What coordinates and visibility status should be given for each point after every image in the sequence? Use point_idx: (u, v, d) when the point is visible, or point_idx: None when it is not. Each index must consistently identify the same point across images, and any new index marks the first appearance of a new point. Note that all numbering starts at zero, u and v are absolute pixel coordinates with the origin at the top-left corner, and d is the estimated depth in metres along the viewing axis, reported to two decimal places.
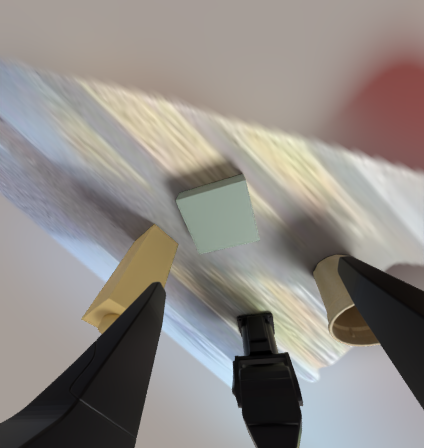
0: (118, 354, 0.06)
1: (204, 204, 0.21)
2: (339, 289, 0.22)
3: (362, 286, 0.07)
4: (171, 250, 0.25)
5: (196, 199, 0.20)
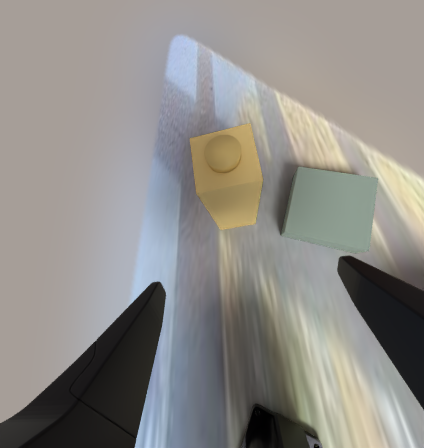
0: (118, 354, 0.06)
1: (324, 181, 0.21)
2: None
3: (362, 286, 0.07)
4: None
5: (319, 173, 0.21)
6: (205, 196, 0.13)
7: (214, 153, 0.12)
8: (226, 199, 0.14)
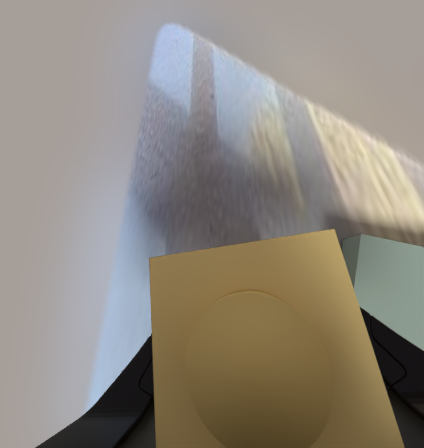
0: None
1: (411, 266, 0.12)
2: None
3: None
4: None
5: (400, 250, 0.12)
6: None
7: (222, 379, 0.03)
8: None
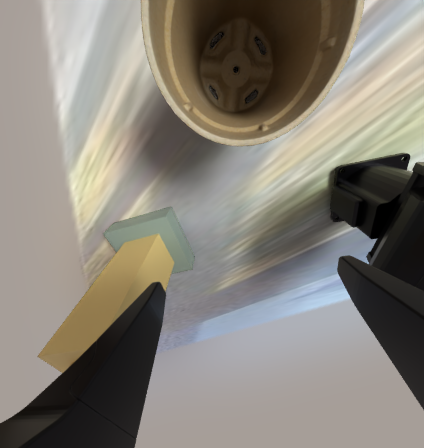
0: (118, 354, 0.06)
1: None
2: (203, 113, 0.12)
3: (362, 286, 0.07)
4: (146, 246, 0.19)
5: None
6: None
7: None
8: None
